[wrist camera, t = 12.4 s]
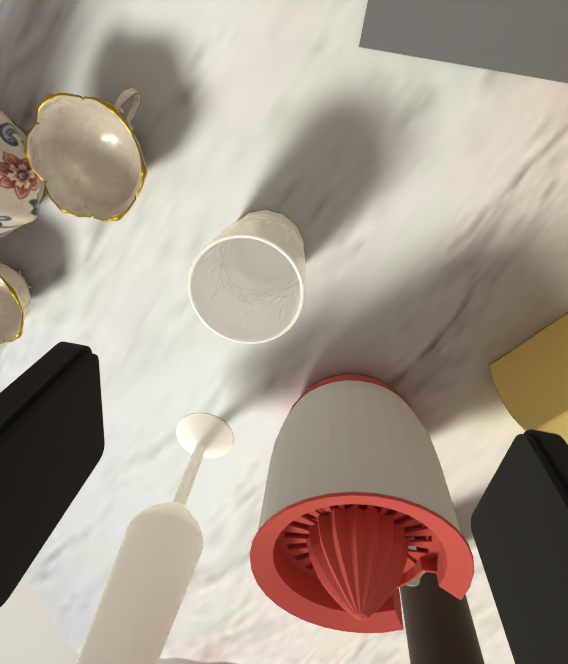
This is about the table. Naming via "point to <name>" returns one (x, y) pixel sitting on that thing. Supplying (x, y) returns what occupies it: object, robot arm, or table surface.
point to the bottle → (438, 625)
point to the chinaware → (64, 176)
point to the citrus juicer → (355, 510)
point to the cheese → (537, 380)
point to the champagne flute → (154, 563)
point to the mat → (475, 33)
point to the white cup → (250, 279)
